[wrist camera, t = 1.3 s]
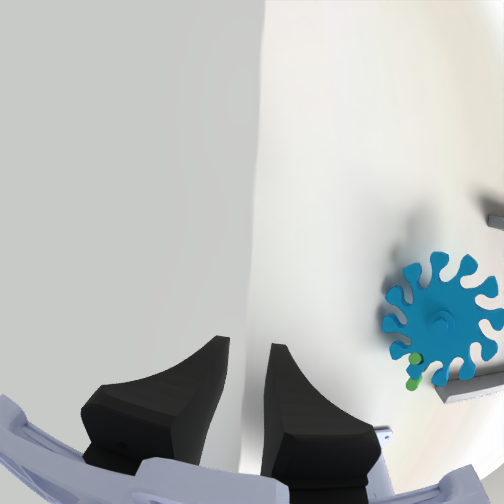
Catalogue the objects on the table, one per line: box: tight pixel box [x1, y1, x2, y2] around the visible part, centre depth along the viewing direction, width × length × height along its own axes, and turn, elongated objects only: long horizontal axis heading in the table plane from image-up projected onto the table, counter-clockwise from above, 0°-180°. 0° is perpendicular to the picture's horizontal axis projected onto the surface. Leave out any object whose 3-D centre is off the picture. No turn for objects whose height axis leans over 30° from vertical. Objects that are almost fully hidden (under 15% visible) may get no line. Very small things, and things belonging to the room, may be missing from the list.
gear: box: [382, 252, 504, 391], centre depth 17 cm, size 11×6×10 cm
